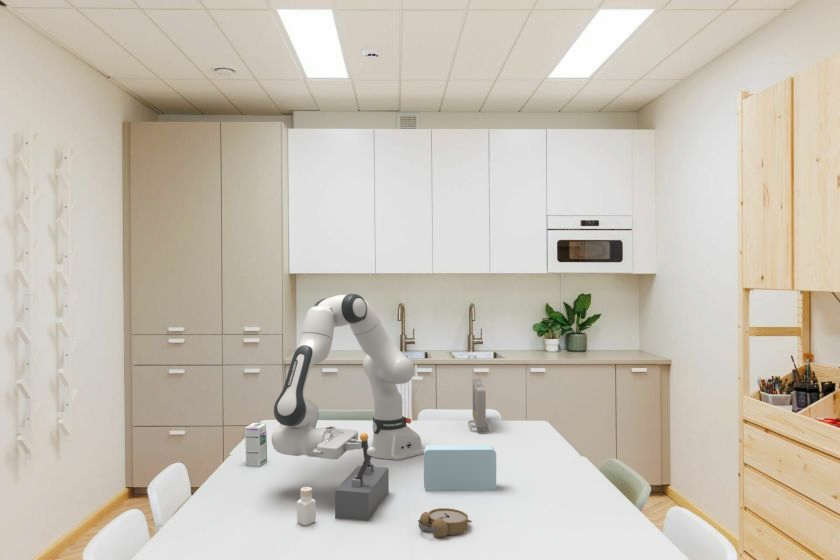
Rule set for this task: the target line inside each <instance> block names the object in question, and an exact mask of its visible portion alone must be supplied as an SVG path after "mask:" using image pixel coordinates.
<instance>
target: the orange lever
mask: <svg viewBox="0 0 840 560" xmlns="http://www.w3.org/2000/svg"><path fill="white" fill-rule="evenodd" d="M359 439H360V441H362V447H363V448H362V452H363V461H364V460H365V458H366V456H367V449H368V448H369V442H368V439H369V434H368V433H366V432H362V433H361V434H360V436H359ZM371 464H372V463H371V461H370V462H369V464H368V466H367V467H371Z"/></svg>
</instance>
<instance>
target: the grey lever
mask: <svg viewBox="0 0 840 560" xmlns="http://www.w3.org/2000/svg"><path fill="white" fill-rule="evenodd" d="M375 453H376V450H375V448H374V447H372V446H368V449H367V456H366V458H365V460H364V459H363V462H362V464H361V465H360V466H361V469H360V471H359V473H358V475H357V477H356V479H360V481H361V479H362V477H363V475H364V473H365V471H366V468H367V466H368V464H369V462H371V460H372V458H373V457H374V456H373V455H375Z"/></svg>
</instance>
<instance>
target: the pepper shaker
mask: <svg viewBox="0 0 840 560" xmlns="http://www.w3.org/2000/svg"><path fill="white" fill-rule="evenodd" d="M299 492H300V498H299V500H297V502H296V522H297V523H298V524H301V525H303V526H308V525H310V524H312V523H314V522H316V517H317V516H316V512H317V510H316V506H317V505H316V503H317V502H316V500H315V499H314V498H312V496H313V488H312V487H311V486H303V487H301V488H300V491H299Z"/></svg>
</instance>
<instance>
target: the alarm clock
mask: <svg viewBox="0 0 840 560" xmlns="http://www.w3.org/2000/svg"><path fill="white" fill-rule="evenodd" d="M417 522H418V528H420V530H422V531H424V532H425V531H426V532H431V533H433V534H432V535H434V536H436V537H437V538H440V537H442V538H445V536H447V535H449V536H451V535H460V534H461V535H462V534H463V532H464V531H466V530H467V531H468V528H467V526H468V524H469V523H472V522H473V521H472V520H470V519H469V515H468V514H467V513H465V512H464V511H462V510H458V509H454V508H446V507H444V508H443V507H439V508H434V509H431V510H429V511H424V512H422V513H421V514H420V517H419V519H418V520H417ZM467 531H466V532H467ZM464 533H465V532H464Z"/></svg>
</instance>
